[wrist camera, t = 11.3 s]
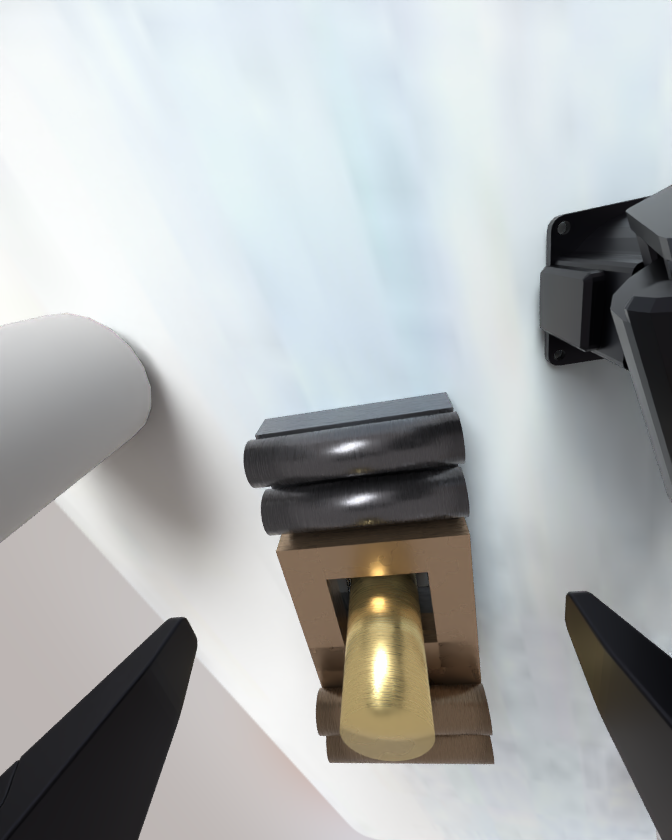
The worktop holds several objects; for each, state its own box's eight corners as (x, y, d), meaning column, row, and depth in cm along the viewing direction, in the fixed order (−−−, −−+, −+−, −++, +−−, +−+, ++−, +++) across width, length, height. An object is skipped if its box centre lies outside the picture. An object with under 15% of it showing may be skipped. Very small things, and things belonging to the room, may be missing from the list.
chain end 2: (454, 487, 22) (482, 572, 17) (471, 666, 29) (494, 772, 23) (290, 505, 24) (264, 588, 18) (340, 670, 30) (332, 770, 25)
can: (147, 313, 20) (-128, 399, 9) (169, 441, 23) (-15, 618, 12) (12, 306, 20) (-402, 379, 10) (51, 432, 24) (-226, 594, 13)
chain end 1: (445, 388, 20) (462, 425, 16) (465, 608, 26) (481, 672, 22) (264, 416, 22) (239, 455, 18) (324, 616, 28) (315, 677, 24)
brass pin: (410, 532, 24) (430, 706, 15) (417, 578, 26) (439, 761, 17) (347, 537, 25) (331, 707, 16) (358, 583, 26) (348, 760, 17)
